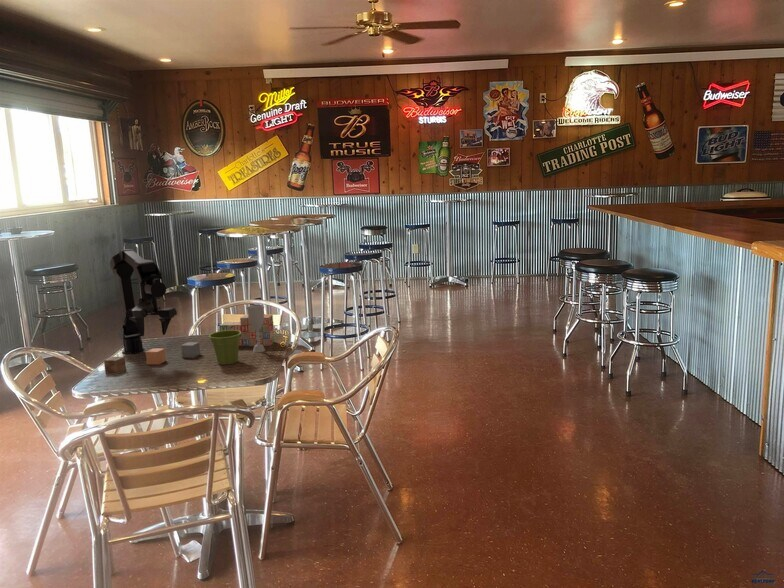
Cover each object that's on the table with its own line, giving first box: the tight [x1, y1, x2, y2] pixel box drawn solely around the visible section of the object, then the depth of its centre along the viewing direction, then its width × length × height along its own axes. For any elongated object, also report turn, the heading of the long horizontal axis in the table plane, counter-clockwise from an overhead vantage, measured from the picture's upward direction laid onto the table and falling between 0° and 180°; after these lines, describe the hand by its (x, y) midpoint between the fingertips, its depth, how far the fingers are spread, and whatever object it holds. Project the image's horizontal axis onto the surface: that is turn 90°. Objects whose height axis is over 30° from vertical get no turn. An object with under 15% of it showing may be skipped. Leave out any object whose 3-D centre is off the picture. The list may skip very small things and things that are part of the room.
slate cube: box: [180, 341, 201, 359], centre depth 241 cm, size 5×5×5 cm
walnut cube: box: [103, 356, 127, 375], centre depth 224 cm, size 5×5×5 cm
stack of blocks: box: [219, 313, 275, 347], centre depth 255 cm, size 21×6×12 cm, turn 84°
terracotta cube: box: [145, 347, 167, 365], centre depth 234 cm, size 5×5×5 cm
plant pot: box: [208, 330, 241, 366], centre depth 229 cm, size 12×12×11 cm
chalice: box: [245, 304, 266, 353], centre depth 243 cm, size 7×7×18 cm
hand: (153, 334), depth 232 cm, fingers open, 9 cm apart
